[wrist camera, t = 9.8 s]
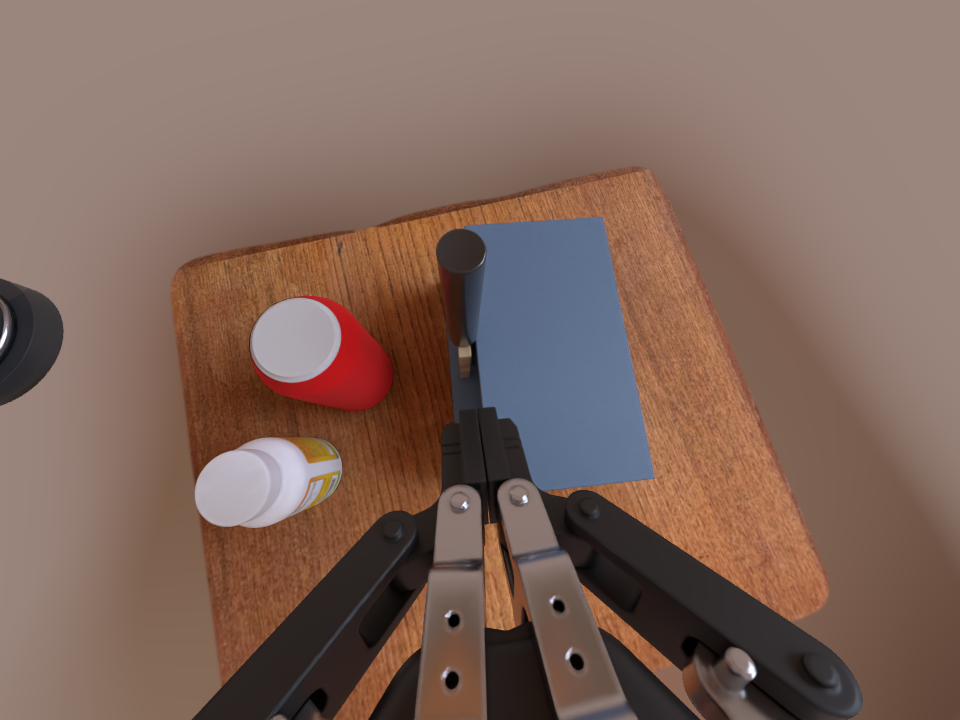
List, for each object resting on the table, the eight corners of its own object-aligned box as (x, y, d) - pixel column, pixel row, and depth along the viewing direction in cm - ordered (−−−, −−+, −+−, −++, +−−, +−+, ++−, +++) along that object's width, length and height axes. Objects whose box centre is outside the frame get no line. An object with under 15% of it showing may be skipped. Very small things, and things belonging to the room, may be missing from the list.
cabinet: (459, 482, 28) (457, 501, 20) (443, 281, 32) (435, 227, 24) (600, 467, 29) (655, 478, 21) (568, 272, 33) (603, 216, 25)
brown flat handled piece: (454, 378, 29) (438, 291, 12) (446, 286, 31) (423, 93, 14) (475, 376, 29) (491, 287, 12) (466, 285, 31) (469, 92, 14)
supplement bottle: (274, 444, 28) (178, 447, 19) (339, 431, 29) (278, 428, 19) (278, 512, 27) (179, 552, 18) (347, 498, 28) (286, 529, 18)
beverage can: (347, 331, 31) (276, 266, 19) (409, 362, 30) (374, 314, 19) (310, 392, 29) (208, 362, 18) (373, 425, 29) (312, 416, 17)
